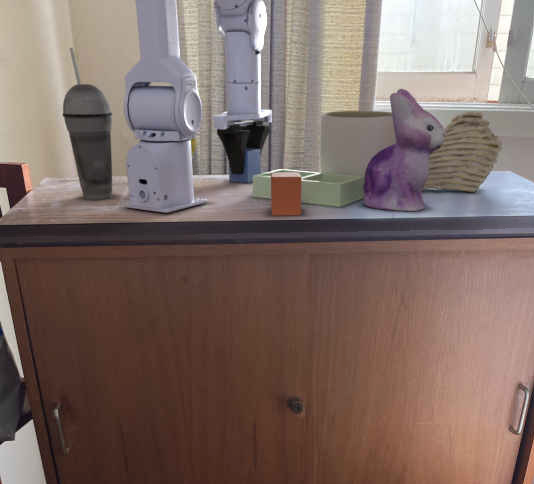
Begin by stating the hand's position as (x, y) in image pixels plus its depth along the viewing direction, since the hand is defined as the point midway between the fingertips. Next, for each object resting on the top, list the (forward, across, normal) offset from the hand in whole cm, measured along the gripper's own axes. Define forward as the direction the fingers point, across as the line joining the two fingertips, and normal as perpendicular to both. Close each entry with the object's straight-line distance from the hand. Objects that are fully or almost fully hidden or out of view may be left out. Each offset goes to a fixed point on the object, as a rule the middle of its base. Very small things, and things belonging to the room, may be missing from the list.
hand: (244, 171), depth 120 cm
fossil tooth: (+2, -10, +34) cm, 35 cm away
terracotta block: (+1, +20, +20) cm, 28 cm away
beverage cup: (+2, +25, -11) cm, 27 cm away
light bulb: (+2, +11, -6) cm, 13 cm away
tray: (+1, +8, +18) cm, 19 cm away
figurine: (+2, +7, +32) cm, 33 cm away
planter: (+2, -4, +20) cm, 20 cm away
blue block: (+1, 0, 0) cm, 1 cm away
